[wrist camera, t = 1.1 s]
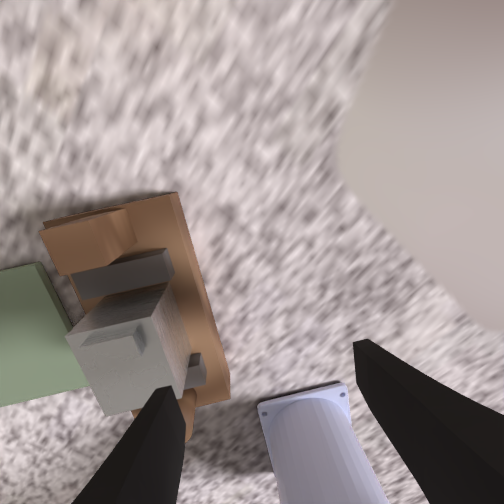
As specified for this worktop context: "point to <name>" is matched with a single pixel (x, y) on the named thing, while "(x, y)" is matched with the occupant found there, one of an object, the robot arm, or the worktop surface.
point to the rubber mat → (34, 338)
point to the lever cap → (132, 347)
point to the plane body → (145, 278)
